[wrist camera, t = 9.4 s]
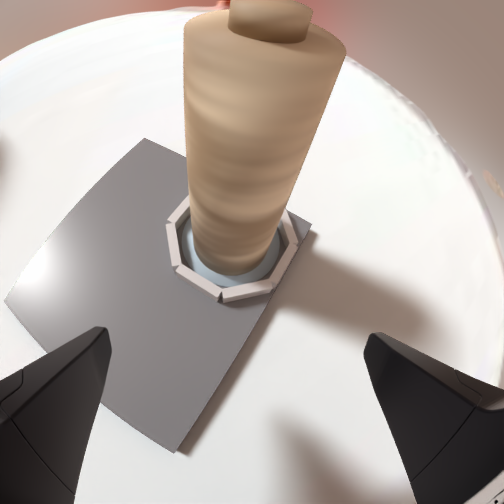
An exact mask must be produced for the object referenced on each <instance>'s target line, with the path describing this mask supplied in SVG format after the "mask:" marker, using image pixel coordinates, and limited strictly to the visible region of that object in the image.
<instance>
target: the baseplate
mask: <svg viewBox="0 0 504 504" xmlns="http://www.w3.org/2000/svg"><path fill="white" fill-rule="evenodd" d="M311 225H312V224H311V223H309V222H307V221H305V220H304V219H302V218H300V217H298V216H297V215H295V214H293V213H291V212H289V211H288V210H286V208H285V210H284V212H283V215H282V217H281V219H280V222H279V224H278V227H277V229H276V232H275V234H274V236H273V239H272V241H271V244H270V246H269V248H268V251H267V253H266V255H265V258H264V259H263V261H262V262H261V263H260V264H259V265H258V266H257V267H256V268H255V269H253V270H252V271H250V272H248V273H245V274H242V275H236V276H227V275H222V274H218V273H216V272H214V271H212V270H210V269H208V268H207V267H206V266H205V265H204V264H203V263H202V262H201V261H200V260H199V258H198V257H197V255H196V252H195V250H194V245H193V235H192V224H191V213H190V201H189V189H188V175H187V159H186V157H184V156H182V155H180V154H178V153H176V152H174V151H171V150H169V149H167V148H165V147H163V146H161V145H159V144H157V143H154V142H152V141H150V140H148V139H146V138H144V139H143V140H142V141H140V142H139V143H138V144H137V145H136V146H135V147H134V148H132V149H131V150H130V151H129V152H128V153H127V154H126V155H125V156H124V157H123V158H122V159H120V160H119V161H118V162H117V163H116V164H115V165H114V166H113V167H112V168H111V169H110V170H109V171H108V172H107V173H106V174H105V175H104V176H103V177H102V178H101V179H100V180H99V181H98V182H97V183H96V184H95V185H94V186H93V187H92V188H91V189H90V190H89V191H88V192H87V193H86V194H85V196H84V197H83V198H82V199H81V200H80V201H79V202H78V203H77V204H76V205H75V207H74V208H73V209H72V210H71V211H70V212H69V213H68V215H67V216H66V217H65V218H64V219H63V220H62V222H61V223H60V224H59V225H58V226H57V228H56V229H55V230H54V231H53V232H52V234H51V235H50V236H49V237H48V239H47V240H46V241H45V243H44V244H43V245H42V246H41V248H40V249H39V250H38V252H37V253H36V254H35V256H34V257H33V258H32V260H31V261H30V263H29V264H28V265H27V267H26V268H25V270H24V271H23V273H22V274H21V275H20V277H19V278H18V280H17V281H16V283H15V284H14V286H13V287H12V289H11V291H10V292H9V294H8V295H7V297H6V299H5V300H4V302H5V303H6V305H7V306H8V307H9V309H10V310H11V311H12V313H13V314H14V315H15V316H16V318H17V319H18V320H19V321H20V323H21V324H22V325H23V326H24V327H25V329H26V330H27V331H28V332H29V333H30V335H31V336H32V337H33V338H34V339H35V340H36V341H37V342H38V344H39V345H40V346H41V347H42V348H43V349H44V350H45V351H46V352H47V353H50V352H51V351H53V350H55V349H56V348H58V347H60V346H62V345H63V344H65V343H67V342H69V341H70V340H72V339H74V338H76V337H77V336H79V335H81V334H83V333H84V332H86V331H88V330H90V329H91V328H93V327H95V326H100V327H106V328H107V329H108V332H109V337H110V341H111V346H112V355H111V359H110V363H109V368H108V372H107V377H106V382H105V386H104V391H103V394H102V397H101V400H100V402H101V403H102V404H103V405H104V406H106V407H107V408H108V409H109V410H111V411H112V412H113V413H115V414H116V415H117V416H118V417H120V418H121V419H122V420H124V421H125V422H127V423H128V424H129V425H131V426H132V427H134V428H135V429H136V430H138V431H139V432H141V433H142V434H144V435H145V436H147V437H148V438H150V439H151V440H153V441H154V442H156V443H157V444H159V445H161V446H162V447H164V448H165V449H167V450H169V451H170V452H172V453H175V451H176V450H177V448H178V447H179V445H180V444H181V442H182V441H183V439H184V438H185V436H186V435H187V433H188V432H189V430H190V429H191V427H192V426H193V424H194V423H195V421H196V420H197V418H198V417H199V415H200V414H201V412H202V410H203V409H204V407H205V406H206V404H207V403H208V401H209V400H210V398H211V396H212V395H213V393H214V392H215V390H216V388H217V387H218V385H219V384H220V382H221V380H222V379H223V377H224V376H225V374H226V372H227V371H228V369H229V368H230V366H231V364H232V363H233V361H234V359H235V358H236V356H237V354H238V353H239V351H240V349H241V348H242V346H243V345H244V343H245V341H246V340H247V338H248V336H249V334H250V333H251V331H252V329H253V328H254V326H255V324H256V323H257V321H258V319H259V318H260V316H261V314H262V312H263V311H264V309H265V307H266V306H267V304H268V302H269V300H270V299H271V297H272V295H273V293H274V292H275V290H276V288H277V286H278V285H279V283H280V281H281V279H282V278H283V276H284V274H285V272H286V271H287V269H288V267H289V265H290V263H291V262H292V260H293V258H294V256H295V254H296V253H297V251H298V249H299V247H300V245H301V243H302V242H303V240H304V238H305V236H306V234H307V232H308V231H309V229H310V227H311Z"/></svg>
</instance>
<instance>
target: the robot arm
mask: <svg viewBox="0 0 504 504" xmlns="http://www.w3.org/2000/svg"><path fill="white" fill-rule="evenodd" d="M111 355H112V346H111V341H110V337H109V332H108V329H107V328H106V327H100V326H95V327H93V328H91V329H90V330H88V331H86V332H84V333H83V334H81V335H79V336H77V337H76V338H74V339H72V340H70V341H69V342H67V343H65V344H63V345H62V346H60V347H58V348H56V349H55V350H53V351H51V352H50V353H48V354H46V355H44V356H43V357H41V358H39V359H37V360H36V361H34V362H32V363H31V364H29V365H27V366H25V367H24V368H23V369H20V370H19V371H17V372H15V373H13V374H12V375H10V376H8V377H6V378H4V379H3V380H0V504H74V499H75V496H74V495H75V493H76V489H77V484H78V480H79V475H80V471H81V467H82V463H83V459H84V455H85V451H86V447H87V444H88V440H89V437H90V433H91V430H92V426H93V423H94V419H95V416H96V413H97V410H98V407H99V403H100V400H101V397H102V394H103V391H104V386H105V382H106V377H107V372H108V368H109V363H110V359H111ZM364 360H365V363H366V366H367V369H368V372H369V376H370V379H371V382H372V386H373V389H374V391H375V394H376V396H377V399H378V401H379V404H380V406H381V408H382V411H383V413H384V416H385V418H386V421H387V423H388V425H389V428H390V430H391V433H392V436H393V438H394V441H395V443H396V446H397V448H398V451H399V454H400V456H401V459H402V462H403V464H404V467H405V470H406V473H407V475H408V478H409V481H410V482H411V483H410V484H411V487H412V490H413V493H414V496H415V499H416V502H417V504H504V390H503V389H500V388H498V387H495V386H493V385H490V384H488V383H485V382H483V381H480V380H478V379H475V378H473V377H471V376H469V375H467V374H464V373H462V372H460V371H458V370H456V369H455V370H454V368H452V367H450V366H448V365H446V364H444V363H442V362H440V361H438V360H436V359H434V358H432V357H430V356H428V355H426V354H424V353H422V352H420V351H418V350H416V349H414V348H412V347H410V346H408V345H406V344H404V343H402V342H400V341H398V340H396V339H394V338H392V337H390V336H388V335H386V334H384V333H381V332H377V333H371V334H370V335H369V338H368V341H367V344H366V346H365V349H364Z"/></svg>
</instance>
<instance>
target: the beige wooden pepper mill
mask: <svg viewBox="0 0 504 504" xmlns="http://www.w3.org/2000/svg"><path fill="white" fill-rule="evenodd" d="M312 14H313V10H312V9H311V8H309V7H308V6H306V5H304V4H302V3H299V2H296V1H293V0H231V2H230V9H228V10H219V11H213V12H208V13H204V14H201V15H199V16H196V17H194V18H192V19H191V20H189V21H188V22H187V23H186V24H185V26H184V52H183V69H184V117H185V140H186V159H187V175H188V189H189V201H190V213H191V224H192V235H193V245H194V250H195V252H196V255H197V257H198V258H199V260H200V261H201V262H202V263H203V264H204V265H205V266H206V267H207V268H208V269H210V270H212V271H214V272H216V273H218V274H222V275H227V276H236V275H242V274H245V273H248V272H250V271H252V270H253V269H255V268H256V267H257V266H258V265H259V264H260V263H261V262H262V261H263V259H264V258H265V255H266V253H267V251H268V248H269V246H270V244H271V241H272V239H273V236H274V234H275V232H276V229H277V227H278V224H279V222H280V219H281V217H282V215H283V212H284V210H285V207H286V205H287V202H288V200H289V197H290V195H291V193H292V190H293V188H294V185H295V183H296V180H297V178H298V175H299V173H300V170H301V168H302V165H303V163H304V160H305V158H306V155H307V153H308V150H309V148H310V145H311V143H312V140H313V138H314V135H315V133H316V130H317V128H318V125H319V123H320V120H321V118H322V115H323V113H324V110H325V108H326V105H327V103H328V100H329V97H330V95H331V92H332V90H333V87H334V85H335V82H336V79H337V77H338V74H339V72H340V69H341V66H342V64H343V61H344V59H345V56H346V48H345V47H344V45H343V43H342V42H341V41H340V40H339V39H337V38H336V37H335V36H334V35H332V34H331V33H329V32H328V31H326V30H325V29H323V28H320V27H319V26H317V25H314V24H312V23H310V21H311V17H312Z"/></svg>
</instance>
